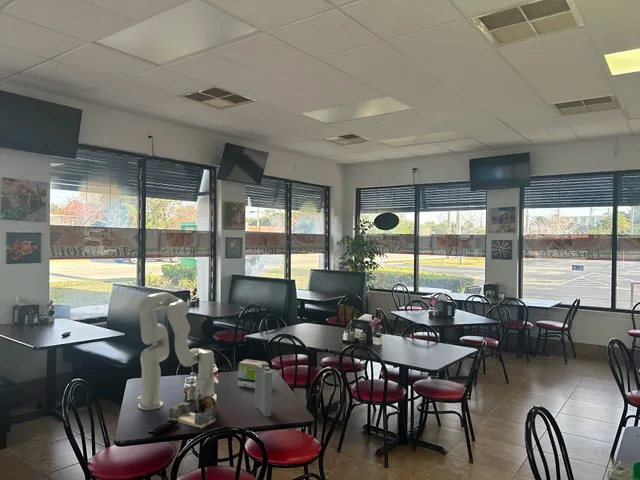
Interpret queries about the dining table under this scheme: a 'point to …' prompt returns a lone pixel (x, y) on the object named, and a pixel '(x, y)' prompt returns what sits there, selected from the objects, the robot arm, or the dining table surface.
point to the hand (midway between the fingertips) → (204, 409)
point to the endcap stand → (191, 415)
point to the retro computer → (247, 373)
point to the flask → (263, 388)
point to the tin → (208, 403)
